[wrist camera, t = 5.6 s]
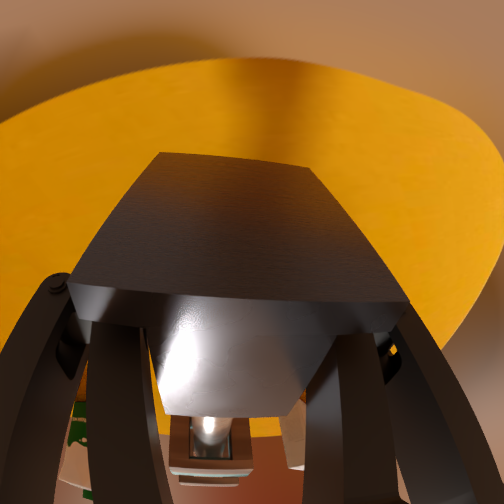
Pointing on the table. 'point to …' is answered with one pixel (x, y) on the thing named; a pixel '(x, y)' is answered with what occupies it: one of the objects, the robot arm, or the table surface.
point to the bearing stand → (184, 448)
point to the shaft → (233, 284)
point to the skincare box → (294, 435)
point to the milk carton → (77, 453)
